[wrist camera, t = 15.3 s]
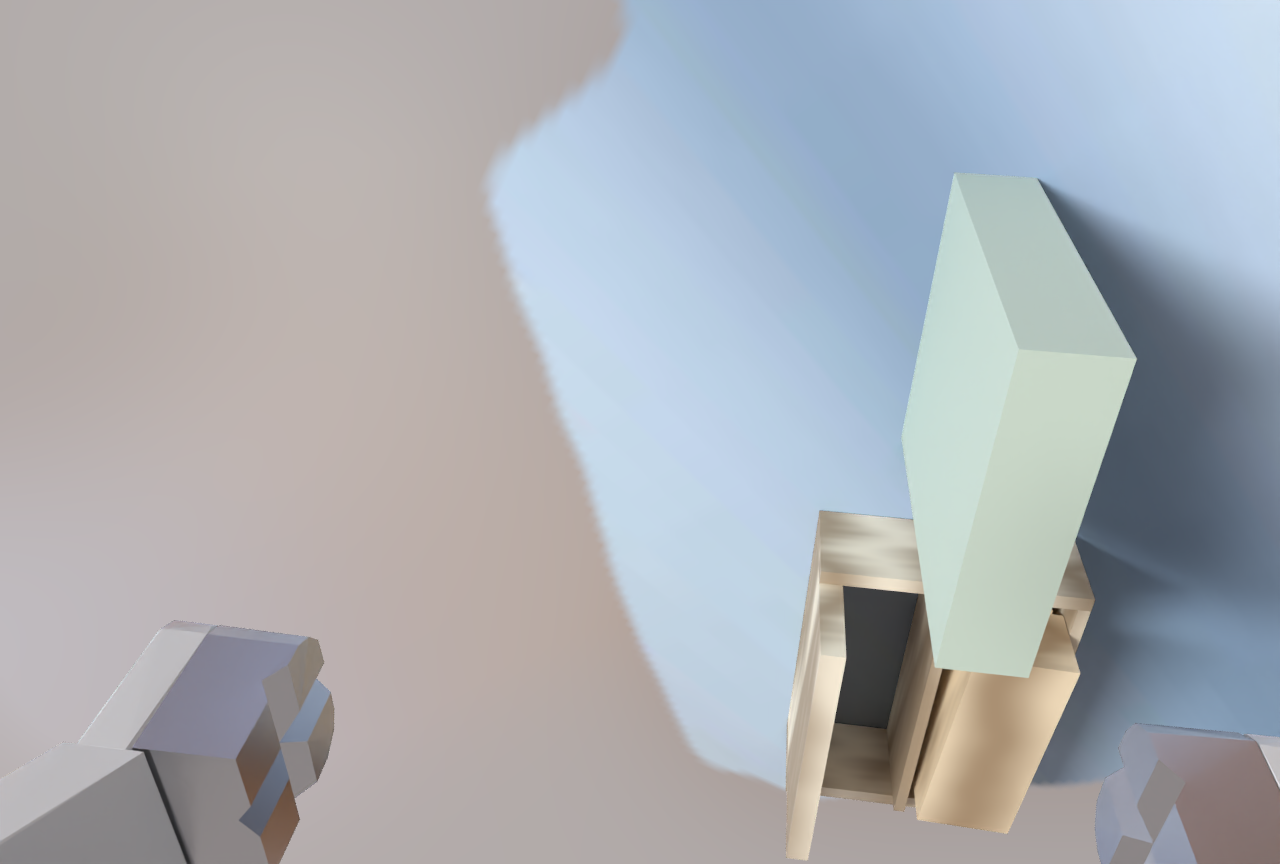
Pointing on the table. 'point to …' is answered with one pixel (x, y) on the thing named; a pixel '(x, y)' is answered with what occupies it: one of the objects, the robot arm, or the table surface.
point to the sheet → (1006, 421)
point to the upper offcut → (992, 737)
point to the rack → (815, 743)
